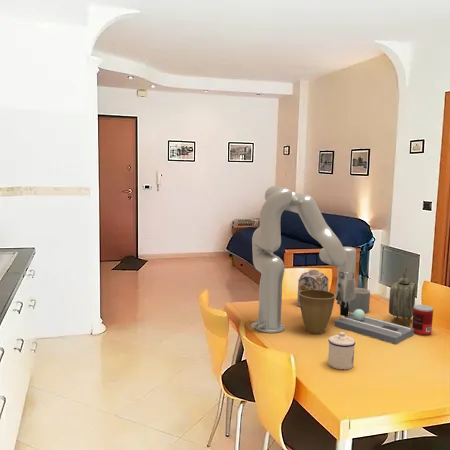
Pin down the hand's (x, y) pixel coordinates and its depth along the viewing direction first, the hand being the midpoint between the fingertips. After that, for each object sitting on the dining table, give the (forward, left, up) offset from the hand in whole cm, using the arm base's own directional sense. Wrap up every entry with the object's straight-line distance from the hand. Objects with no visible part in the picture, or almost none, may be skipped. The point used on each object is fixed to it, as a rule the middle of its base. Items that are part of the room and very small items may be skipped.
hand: (344, 315), depth 211 cm
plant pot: (-19, +2, -3) cm, 19 cm away
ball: (0, -7, +2) cm, 8 cm away
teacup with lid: (-40, -23, -3) cm, 46 cm away
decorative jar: (+10, +24, -3) cm, 26 cm away
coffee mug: (+21, +6, -3) cm, 22 cm away
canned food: (+13, -29, -3) cm, 32 cm away
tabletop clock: (+19, -17, -3) cm, 26 cm away
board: (0, -14, -3) cm, 15 cm away
